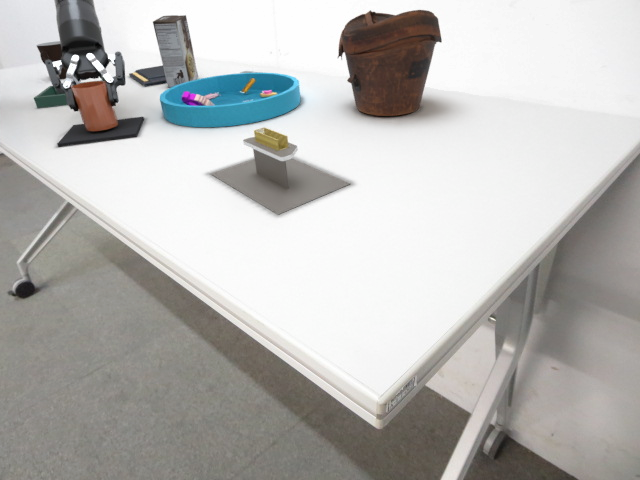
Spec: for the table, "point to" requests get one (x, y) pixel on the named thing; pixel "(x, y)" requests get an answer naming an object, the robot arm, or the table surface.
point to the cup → (95, 105)
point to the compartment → (50, 98)
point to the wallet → (150, 76)
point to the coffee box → (175, 49)
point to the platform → (277, 174)
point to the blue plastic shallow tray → (230, 99)
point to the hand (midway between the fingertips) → (94, 106)
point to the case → (389, 59)
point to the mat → (102, 132)
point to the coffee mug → (52, 54)
